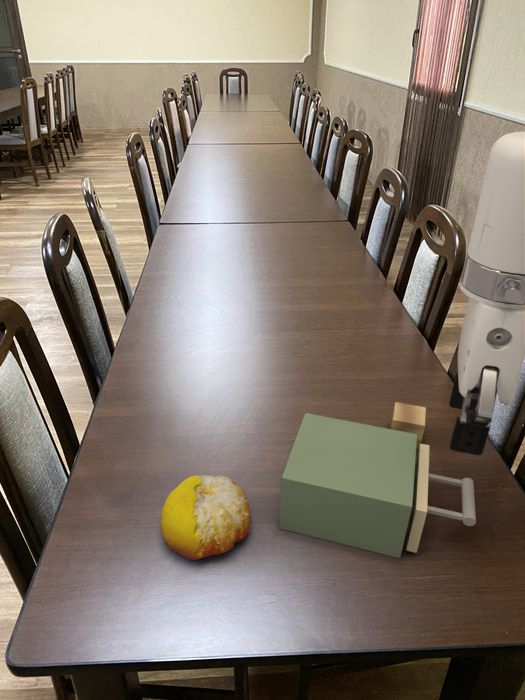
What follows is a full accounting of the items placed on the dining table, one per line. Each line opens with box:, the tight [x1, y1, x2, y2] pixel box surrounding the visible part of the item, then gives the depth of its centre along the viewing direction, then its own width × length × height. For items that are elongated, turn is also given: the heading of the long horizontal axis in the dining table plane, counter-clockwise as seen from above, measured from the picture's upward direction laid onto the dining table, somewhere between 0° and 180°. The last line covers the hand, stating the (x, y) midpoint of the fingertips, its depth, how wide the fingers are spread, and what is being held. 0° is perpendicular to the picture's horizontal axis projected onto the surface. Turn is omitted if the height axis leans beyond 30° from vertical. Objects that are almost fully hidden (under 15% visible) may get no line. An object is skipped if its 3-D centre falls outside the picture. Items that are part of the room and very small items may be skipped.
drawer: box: [405, 443, 477, 554], centre depth 66 cm, size 19×11×7 cm, turn 74°
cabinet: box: [278, 412, 417, 559], centre depth 67 cm, size 15×13×9 cm
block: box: [390, 401, 427, 450], centre depth 80 cm, size 4×4×4 cm
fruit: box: [160, 474, 252, 561], centre depth 64 cm, size 11×10×8 cm
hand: (464, 427), depth 59 cm, fingers open, 6 cm apart
